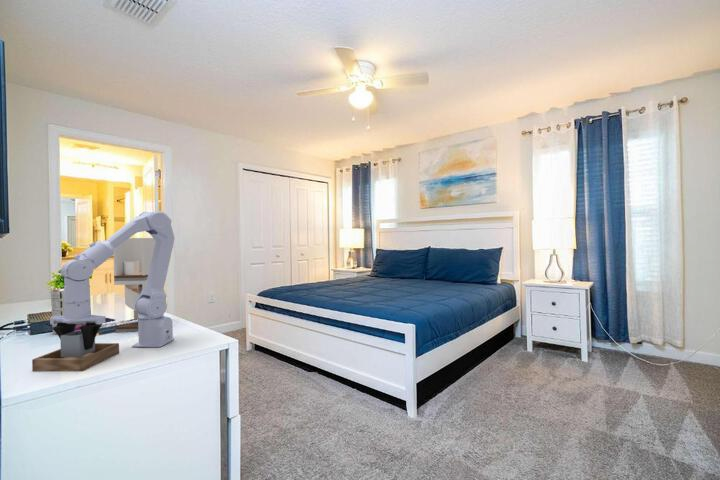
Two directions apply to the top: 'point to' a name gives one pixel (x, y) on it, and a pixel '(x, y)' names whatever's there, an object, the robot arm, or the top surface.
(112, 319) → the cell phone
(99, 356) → the walnut crate
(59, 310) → the candy bar box
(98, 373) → the top surface
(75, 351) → the grey crate
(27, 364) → the top surface
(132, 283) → the display case
